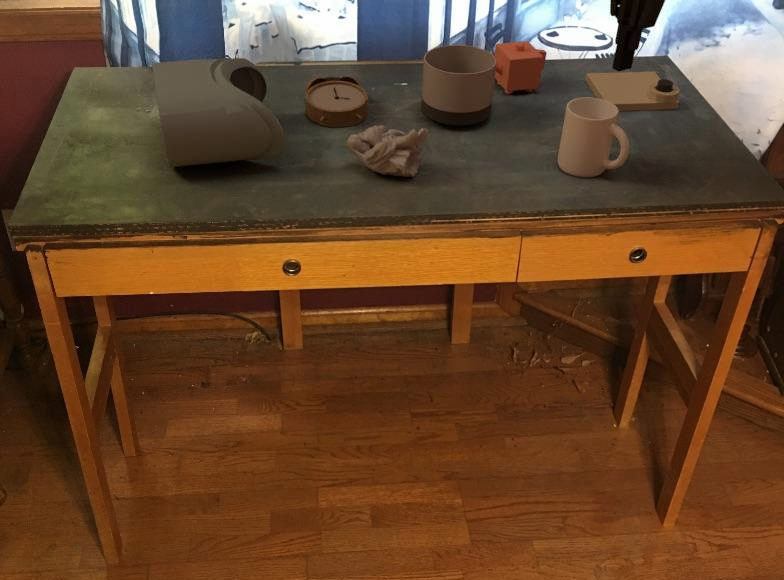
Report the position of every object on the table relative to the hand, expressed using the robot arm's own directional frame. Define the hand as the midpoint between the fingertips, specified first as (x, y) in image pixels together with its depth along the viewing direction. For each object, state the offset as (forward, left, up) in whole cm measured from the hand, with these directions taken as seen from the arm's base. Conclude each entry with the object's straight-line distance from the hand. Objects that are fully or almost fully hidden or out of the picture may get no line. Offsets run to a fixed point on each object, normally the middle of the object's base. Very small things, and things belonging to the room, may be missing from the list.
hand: (621, 68), depth 136 cm
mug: (-2, +4, -16) cm, 17 cm away
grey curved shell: (+36, +54, -16) cm, 67 cm away
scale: (+17, -23, -16) cm, 32 cm away
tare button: (+11, -25, -13) cm, 30 cm away
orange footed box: (+31, -5, -16) cm, 35 cm away
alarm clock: (+39, +30, -16) cm, 52 cm away
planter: (+26, +12, -16) cm, 33 cm away
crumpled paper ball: (+15, +33, -16) cm, 40 cm away
